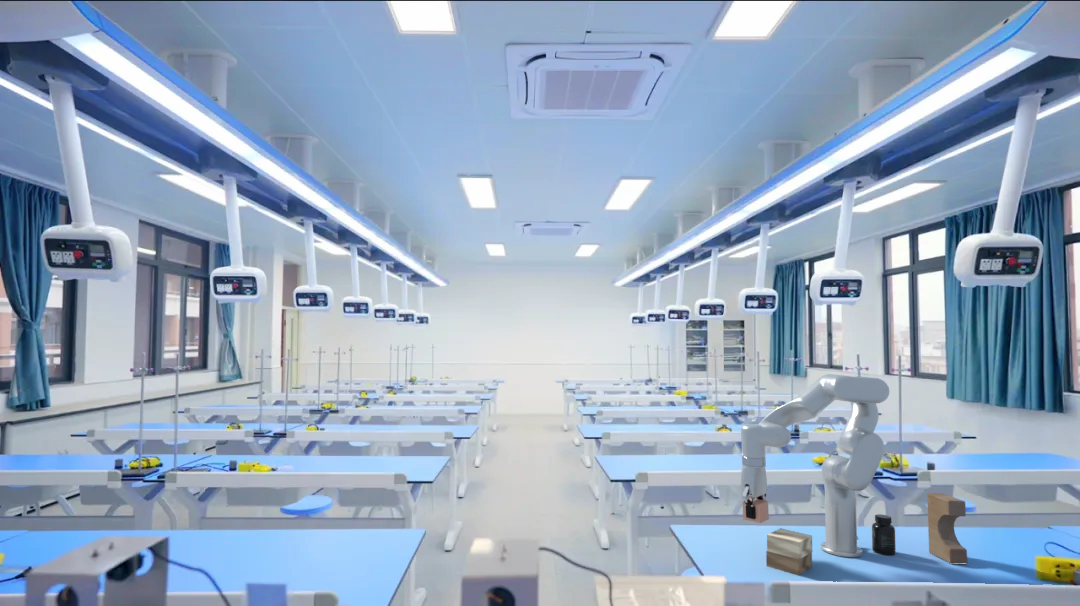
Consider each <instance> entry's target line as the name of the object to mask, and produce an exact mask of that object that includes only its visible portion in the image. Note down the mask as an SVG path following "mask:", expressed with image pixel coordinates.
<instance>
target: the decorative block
mask: <svg viewBox="0 0 1080 606" xmlns="http://www.w3.org/2000/svg"><path fill="white" fill-rule="evenodd" d="M966 514H967V513H966V501H965V500H962V499H961V498H957V497H954V496H952V495H949V494H946V493H944V492H943V493H942V492H928V493H927V524H928V525H927V527H928V528H927V529H928V552H929V553H930V554H931V553H932V555H933V554H934V555H933V556H935V555H936V556H935V557H936V558H938V559H940V558H941V560H942V559H943V561H944V560H945V562H946V561H947V563H948V562H949V563H948V564H950V563H967V564H968V550H967V549H966V548H965V547H964V546H963V545H962V544H961V543H960V542H959V540H958V537H957V536H956V533H955V522H956V520H957V519H958V518H959V517H966Z"/></svg>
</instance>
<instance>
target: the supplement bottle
mask: <svg viewBox="0 0 1080 606" xmlns="http://www.w3.org/2000/svg"><path fill="white" fill-rule="evenodd" d="M874 521H875V522H873V523H872V525H871V547H872V551H873V553H875V554H877V555H882V556H888V557H889V556H890V557H891V556H895V555H896V553H897V552H896V551H897V550H896V549H897V548H896V528H895V526H894V525H893V524H892V523H893V522H892V516H890V515H886V514H881V513H880V514H879V513H877V514H875V515H874Z"/></svg>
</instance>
